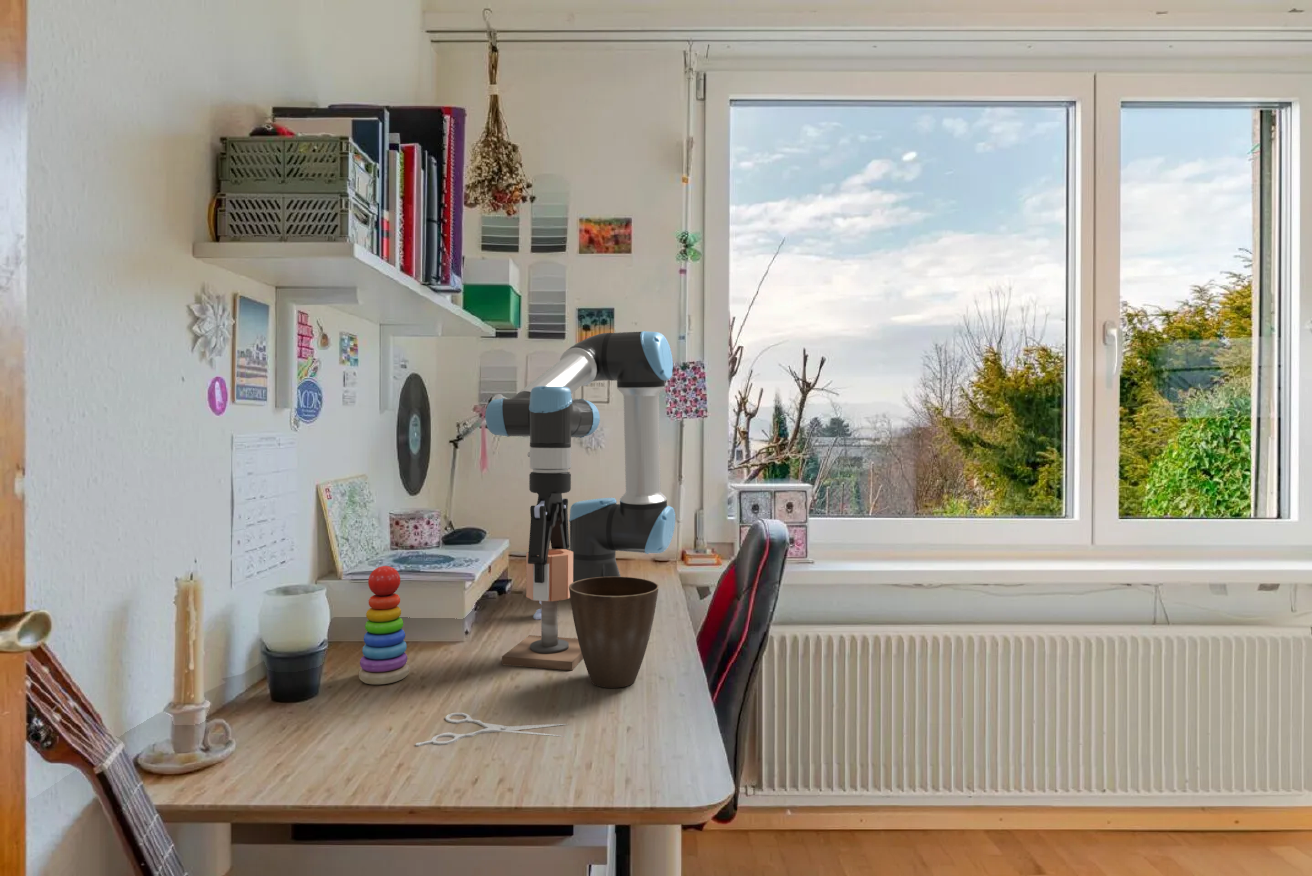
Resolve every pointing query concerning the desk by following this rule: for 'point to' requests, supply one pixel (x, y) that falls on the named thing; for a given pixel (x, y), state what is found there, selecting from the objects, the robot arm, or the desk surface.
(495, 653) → the desk surface
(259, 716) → the desk surface
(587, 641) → the plant pot
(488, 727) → the scissors
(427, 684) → the desk surface
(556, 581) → the ring
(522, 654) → the post stand
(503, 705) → the desk surface
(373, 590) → the stacking toy
